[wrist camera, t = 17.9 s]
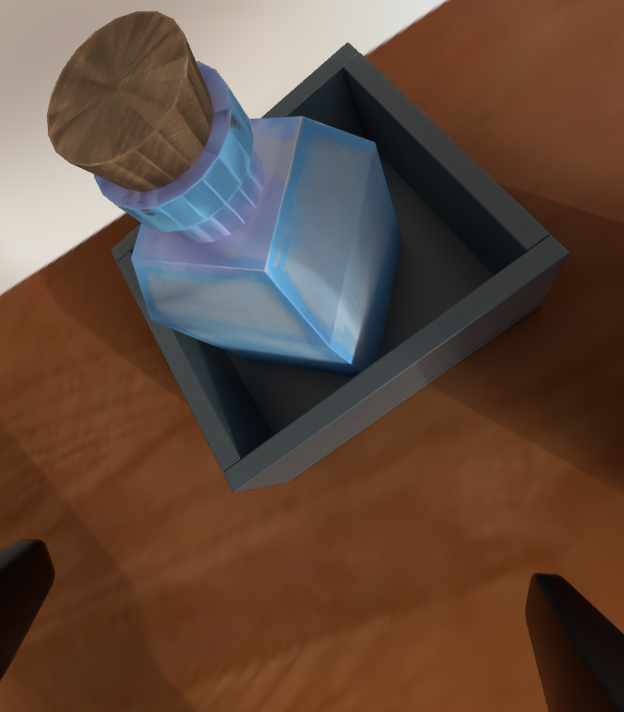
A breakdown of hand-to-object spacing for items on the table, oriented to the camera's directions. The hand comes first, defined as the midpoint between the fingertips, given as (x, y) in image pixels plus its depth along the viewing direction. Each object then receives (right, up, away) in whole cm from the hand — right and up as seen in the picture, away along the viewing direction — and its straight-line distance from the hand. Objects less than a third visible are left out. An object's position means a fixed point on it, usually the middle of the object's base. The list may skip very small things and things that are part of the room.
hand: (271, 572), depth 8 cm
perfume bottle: (+1, +6, +11) cm, 13 cm away
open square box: (+2, +7, +12) cm, 14 cm away
